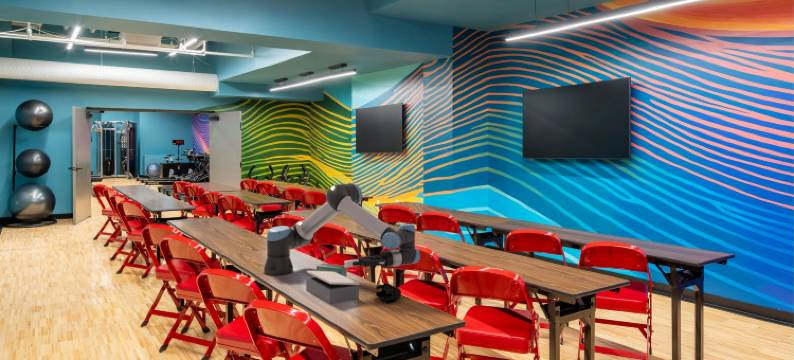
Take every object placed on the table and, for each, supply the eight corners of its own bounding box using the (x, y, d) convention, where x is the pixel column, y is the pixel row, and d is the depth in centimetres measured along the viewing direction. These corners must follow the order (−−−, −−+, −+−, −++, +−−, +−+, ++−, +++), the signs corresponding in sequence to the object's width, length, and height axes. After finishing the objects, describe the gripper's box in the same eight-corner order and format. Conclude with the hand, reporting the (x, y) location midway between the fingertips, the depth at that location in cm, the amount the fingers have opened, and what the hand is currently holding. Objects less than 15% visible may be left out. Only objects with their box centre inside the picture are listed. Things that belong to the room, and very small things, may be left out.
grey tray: (306, 290, 229) (306, 277, 229) (333, 286, 237) (333, 273, 237) (329, 304, 210) (329, 289, 209) (358, 299, 217) (359, 285, 217)
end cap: (401, 302, 214) (401, 286, 214) (387, 304, 210) (387, 288, 210) (389, 296, 222) (389, 281, 222) (375, 298, 219) (375, 283, 218)
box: (340, 283, 243) (340, 268, 242) (315, 280, 247) (315, 265, 247) (347, 280, 250) (347, 265, 249) (322, 277, 254) (322, 262, 254)
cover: (306, 272, 229) (307, 270, 229) (333, 273, 237) (334, 271, 237) (330, 284, 209) (330, 282, 209) (359, 284, 217) (359, 283, 217)
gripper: (397, 269, 230) (352, 275, 218) (382, 263, 241) (338, 269, 228) (397, 253, 230) (352, 258, 217) (382, 248, 241) (338, 253, 228)
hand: (345, 264), depth 223 cm, fingers closed
